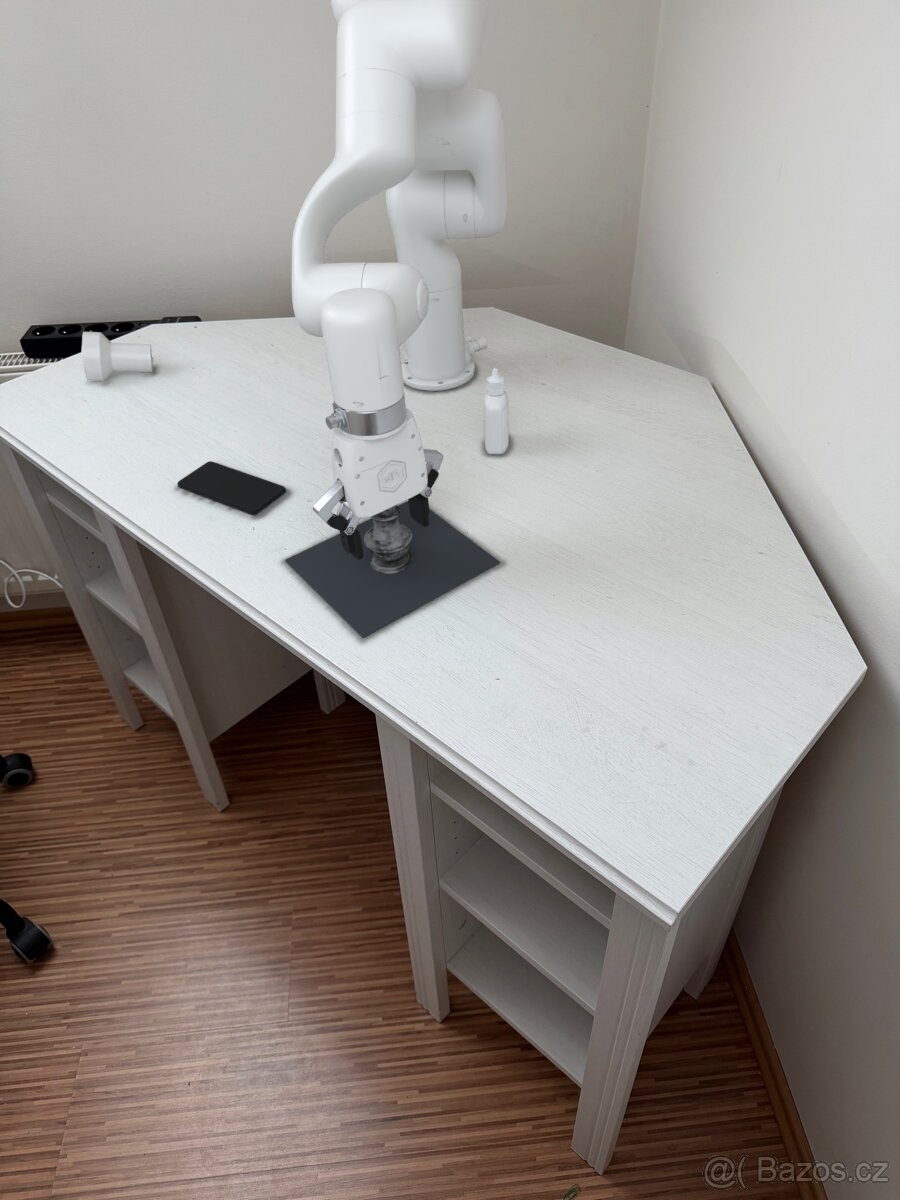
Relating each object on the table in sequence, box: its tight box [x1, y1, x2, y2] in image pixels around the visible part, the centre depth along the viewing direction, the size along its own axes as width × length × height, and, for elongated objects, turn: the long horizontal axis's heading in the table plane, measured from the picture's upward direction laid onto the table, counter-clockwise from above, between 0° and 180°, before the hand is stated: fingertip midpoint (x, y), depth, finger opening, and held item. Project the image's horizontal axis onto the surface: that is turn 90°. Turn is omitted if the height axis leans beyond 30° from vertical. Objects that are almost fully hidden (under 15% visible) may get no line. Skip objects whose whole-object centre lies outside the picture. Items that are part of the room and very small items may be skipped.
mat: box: [284, 500, 501, 639], centre depth 103 cm, size 20×18×1 cm
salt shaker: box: [364, 504, 412, 574], centre depth 99 cm, size 6×6×12 cm
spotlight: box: [80, 331, 154, 382], centre depth 143 cm, size 8×11×8 cm
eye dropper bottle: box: [483, 367, 510, 455], centre depth 118 cm, size 4×6×12 cm
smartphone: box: [177, 460, 287, 516], centre depth 117 cm, size 7×1×15 cm
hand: (387, 537), depth 100 cm, fingers open, 9 cm apart
